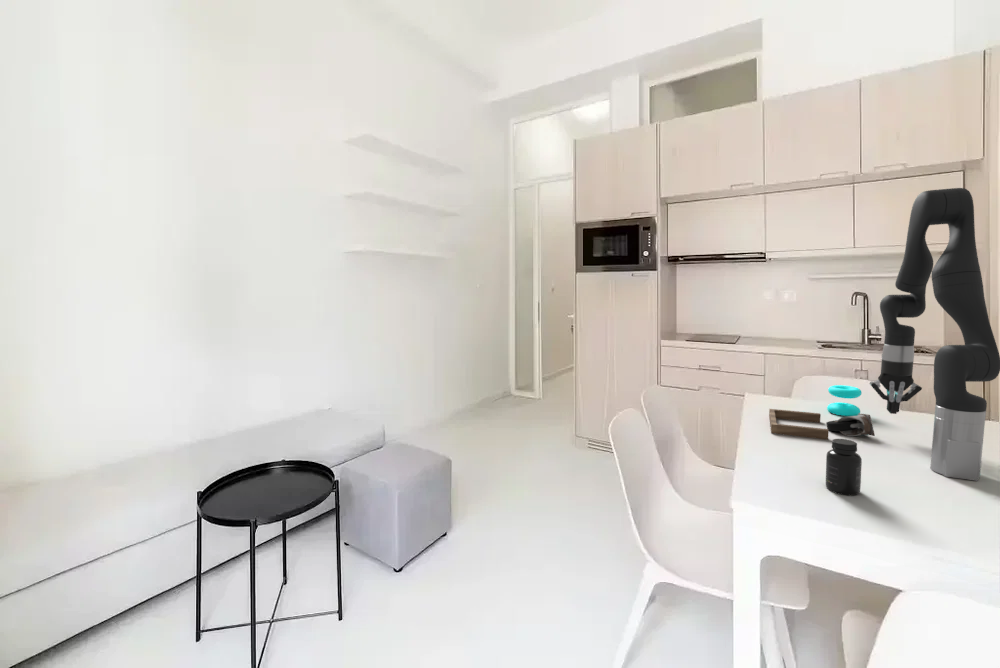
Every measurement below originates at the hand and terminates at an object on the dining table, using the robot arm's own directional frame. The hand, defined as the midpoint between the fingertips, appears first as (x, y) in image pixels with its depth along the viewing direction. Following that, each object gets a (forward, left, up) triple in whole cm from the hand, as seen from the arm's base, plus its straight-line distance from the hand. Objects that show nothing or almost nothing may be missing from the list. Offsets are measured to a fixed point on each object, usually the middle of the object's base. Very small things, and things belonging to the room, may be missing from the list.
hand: (892, 413), depth 147 cm
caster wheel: (-1, +11, -8) cm, 14 cm away
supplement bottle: (-51, +20, -8) cm, 56 cm away
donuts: (+26, +9, -8) cm, 28 cm away
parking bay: (0, +25, -8) cm, 26 cm away
